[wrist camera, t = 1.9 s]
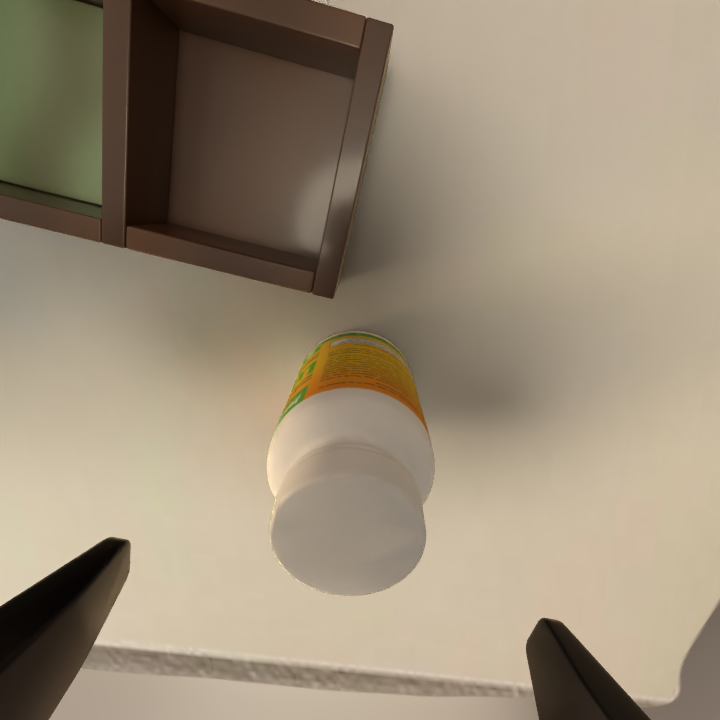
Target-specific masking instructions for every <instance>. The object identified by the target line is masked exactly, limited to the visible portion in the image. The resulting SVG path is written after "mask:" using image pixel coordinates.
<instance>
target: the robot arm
mask: <svg viewBox="0 0 720 720" xmlns="http://www.w3.org/2000/svg"><path fill="white" fill-rule="evenodd" d="M130 549H131V545H130V542H129V540H126V539H121V538H115V537H109V538H106V539H105V540H103V541H101V542H100V543H98V544H97V545H95V546H94V547H92V548H90V549H89V550H87V551H86V552H84V553H83V554H81V555H80V556H78V557H76V558H75V559H73V560H72V561H70V562H69V563H67V564H65V565H64V566H62V567H61V568H59V569H58V570H56V571H55V572H53V573H51V574H50V575H48V576H47V577H45V578H44V579H42V580H41V581H39V582H37V583H36V584H34V585H33V586H31V587H30V588H28V589H26V590H25V591H23V592H22V593H20V594H19V595H17V596H16V597H14V598H12V599H11V600H9V601H8V602H6V603H5V604H3V605H2V606H0V720H49V718H50V717H51V715H52V714H53V712H54V710H55V709H56V707H57V706H58V704H59V702H60V700H61V699H62V698H63V696H64V694H65V693H66V691H67V690H68V688H69V686H70V685H71V683H72V682H73V680H74V678H75V677H76V675H77V673H78V672H79V670H80V668H81V667H82V665H83V663H84V661H85V659H86V658H87V656H88V654H89V652H90V650H91V648H92V646H93V644H94V642H95V640H96V638H97V636H98V634H99V632H100V630H101V628H102V627H103V625H104V623H105V621H106V619H107V617H108V615H109V613H110V611H111V609H112V607H113V605H114V603H115V601H116V599H117V597H118V595H119V593H120V591H121V589H122V587H123V585H124V583H125V581H126V579H127V577H128V573H129V569H130ZM526 654H527V659H528V664H529V670H530V675H531V680H532V685H533V690H534V696H535V701H536V706H537V711H538V716H539V720H651V719H650V718H649V717H648V716H647V715H646V714H645V713H644V712H643V711H642V710H641V708H640V707H639V706H638V705H637V704H636V703H635V702H634V701H633V700H632V699H631V697H630V696H629V695H628V694H627V693H626V692H625V691H624V690H623V689H622V688H621V686H620V685H619V684H618V683H617V682H616V681H615V680H614V679H613V678H612V677H611V675H610V674H609V673H608V672H607V671H606V670H605V669H604V668H603V667H602V666H601V664H600V663H599V662H598V661H597V660H596V659H595V658H594V657H593V656H592V655H591V653H590V652H589V651H588V650H587V649H586V648H585V647H584V646H583V645H582V644H581V642H580V641H579V640H578V639H577V638H576V637H575V636H574V635H573V634H572V633H571V631H570V630H569V629H568V628H567V627H566V626H565V625H564V624H563V623H562V622H560V621H558V620H554V619H548V618H542V619H540V620H539V621H538V623H537V625H536V626H535V628H534V630H533V631H532V633H531V635H530V637H529V638H528V640H527V644H526Z"/></svg>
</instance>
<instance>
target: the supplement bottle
mask: <svg viewBox="0 0 720 720" xmlns="http://www.w3.org/2000/svg"><path fill="white" fill-rule="evenodd" d="M434 472H435V463H434V454H433V449H432V444H431V440H430V436H429V433H428V429H427V426H426V423H425V419H424V415H423V412H422V409H421V405H420V401H419V398H418V394H417V391H416V387H415V383H414V380H413V376H412V372H411V370H410V367H409V365H408V362H407V360H406V359H405V357H404V355H403V354H402V353H401V351H400V350H399V349H398V348H397V347H396V346H395V345H394V344H392V343H391V342H390V341H388V340H387V339H385V338H383V337H381V336H379V335H376V334H373V333H369V332H364V331H346V332H341V333H337V334H334V335H332V336H329V337H328V338H326V339H324V340H322V341H321V342H320V343H318V344H317V345H316V346H315V347H314V348H313V349H312V350H311V351H310V352H309V354H308V355H307V357H306V358H305V360H304V362H303V364H302V366H301V369H300V371H299V373H298V376H297V379H296V381H295V383H294V386H293V389H292V391H291V394H290V396H289V399H288V401H287V403H286V406H285V408H284V410H283V413H282V415H281V418H280V420H279V423H278V425H277V427H276V430H275V432H274V435H273V437H272V440H271V444H270V447H269V451H268V457H267V476H268V481H269V485H270V488H271V491H272V493H273V495H274V497H275V499H276V501H275V504H274V508H273V512H272V515H271V520H270V525H269V539H270V544H271V547H272V550H273V553H274V555H275V557H276V559H277V561H278V562H279V563H280V565H281V566H282V567H283V568H284V569H285V571H286V572H287V573H288V574H290V575H291V576H292V577H293V578H294V579H296V580H297V581H299V582H300V583H302V584H304V585H306V586H308V587H310V588H312V589H315V590H317V591H321V592H324V593H328V594H333V595H340V596H358V595H366V594H371V593H375V592H379V591H382V590H384V589H387V588H389V587H391V586H393V585H394V584H396V583H398V582H400V581H401V580H403V579H404V578H405V577H406V576H407V575H408V574H409V573H410V572H411V571H412V570H413V569H414V568H415V567H416V565H417V564H418V562H419V560H420V558H421V556H422V554H423V551H424V548H425V542H426V527H425V520H424V514H423V504H424V503H425V501H426V499H427V497H428V495H429V493H430V490H431V487H432V484H433V479H434Z"/></svg>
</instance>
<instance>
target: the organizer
mask: <svg viewBox="0 0 720 720" xmlns="http://www.w3.org/2000/svg"><path fill="white" fill-rule="evenodd" d="M393 29H394V26H393V25H392V24H389V23H386V22H382V21H379V20H375V19H372V18H367V19H366V17H365V16H362V15H358V14H355V13H352V12H348V11H345V10H342V9H338V8H335V7H332V6H328V5H325V4H321V3H318V2H315V1H311V0H0V218H1V219H5V220H9V221H13V222H17V223H21V224H26V225H30V226H34V227H38V228H42V229H46V230H50V231H54V232H59V233H63V234H67V235H71V236H75V237H79V238H83V239H88V240H92V241H96V242H102V243H104V244H108V245H112V246H116V247H121V248H128V249H130V250H134V251H138V252H142V253H146V254H150V255H154V256H159V257H163V258H167V259H171V260H175V261H179V262H183V263H188V264H192V265H196V266H200V267H204V268H208V269H212V270H216V271H221V272H225V273H229V274H233V275H237V276H241V277H245V278H249V279H254V280H258V281H262V282H266V283H270V284H274V285H278V286H282V287H287V288H291V289H295V290H299V291H303V292H307V293H311V292H312V294H314V295H318V296H323V297H327V298H331V299H333V298H334V296H335V293H336V290H337V288H338V285H339V282H340V278H341V273H342V269H343V265H344V260H345V256H346V251H347V247H348V242H349V238H350V233H351V229H352V224H353V220H354V215H355V211H356V206H357V202H358V197H359V193H360V188H361V184H362V179H363V175H364V171H365V166H366V162H367V157H368V153H369V148H370V144H371V139H372V135H373V130H374V126H375V121H376V117H377V112H378V108H379V103H380V99H381V94H382V90H383V86H384V81H385V77H386V72H387V67H388V61H389V54H390V48H391V42H392V35H393Z"/></svg>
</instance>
